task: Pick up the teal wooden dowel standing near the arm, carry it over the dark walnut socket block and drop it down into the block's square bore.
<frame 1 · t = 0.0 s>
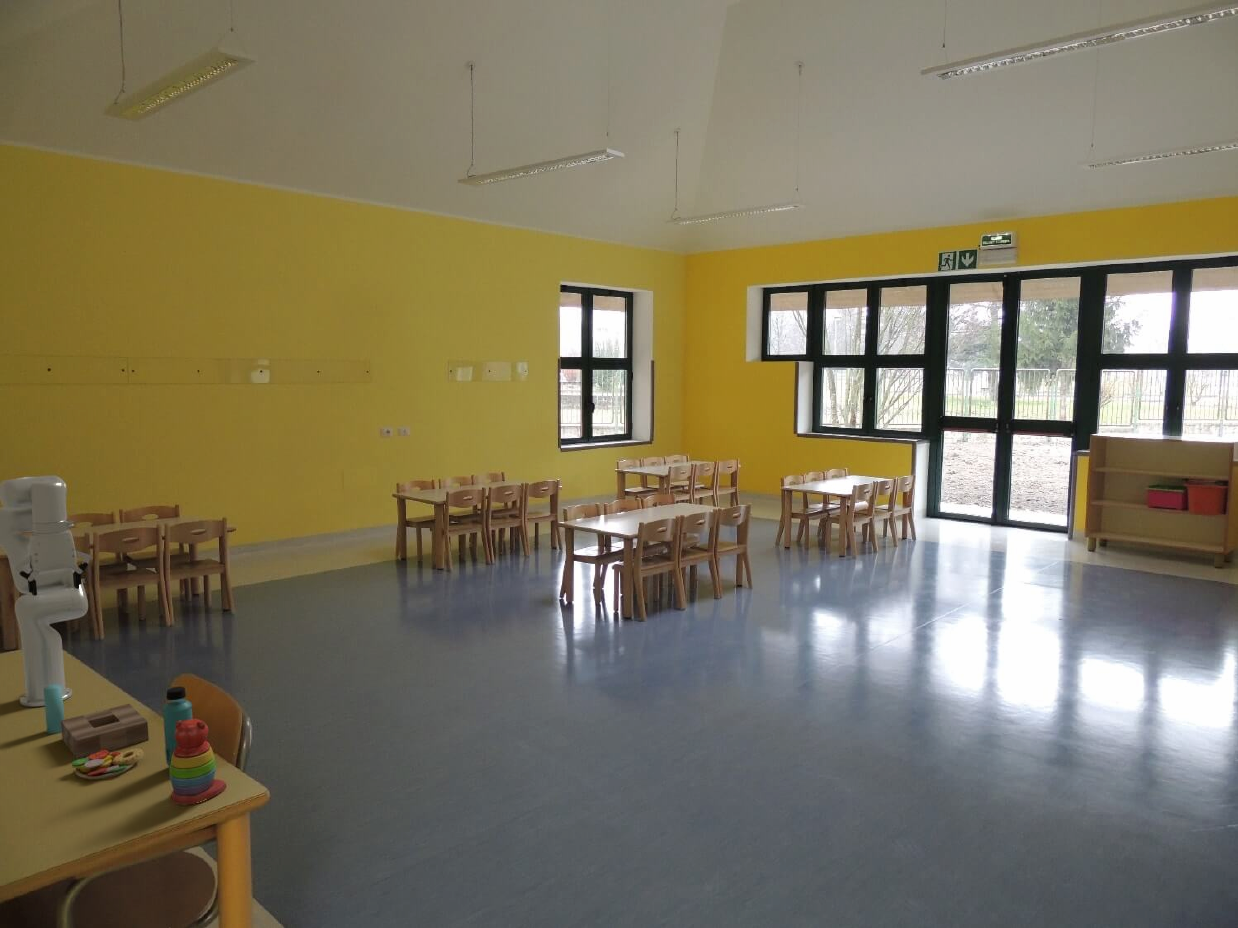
hand: (55, 591, 230), 37 cm above the table, tool pointing down, fingers open, 9 cm apart
beverage bottle: (181, 768, 210), on the table
toy food set: (107, 770, 210), on the table
socket block: (105, 739, 225), on the table
stacking bear: (195, 795, 197), on the table
peg: (56, 730, 231), on the table
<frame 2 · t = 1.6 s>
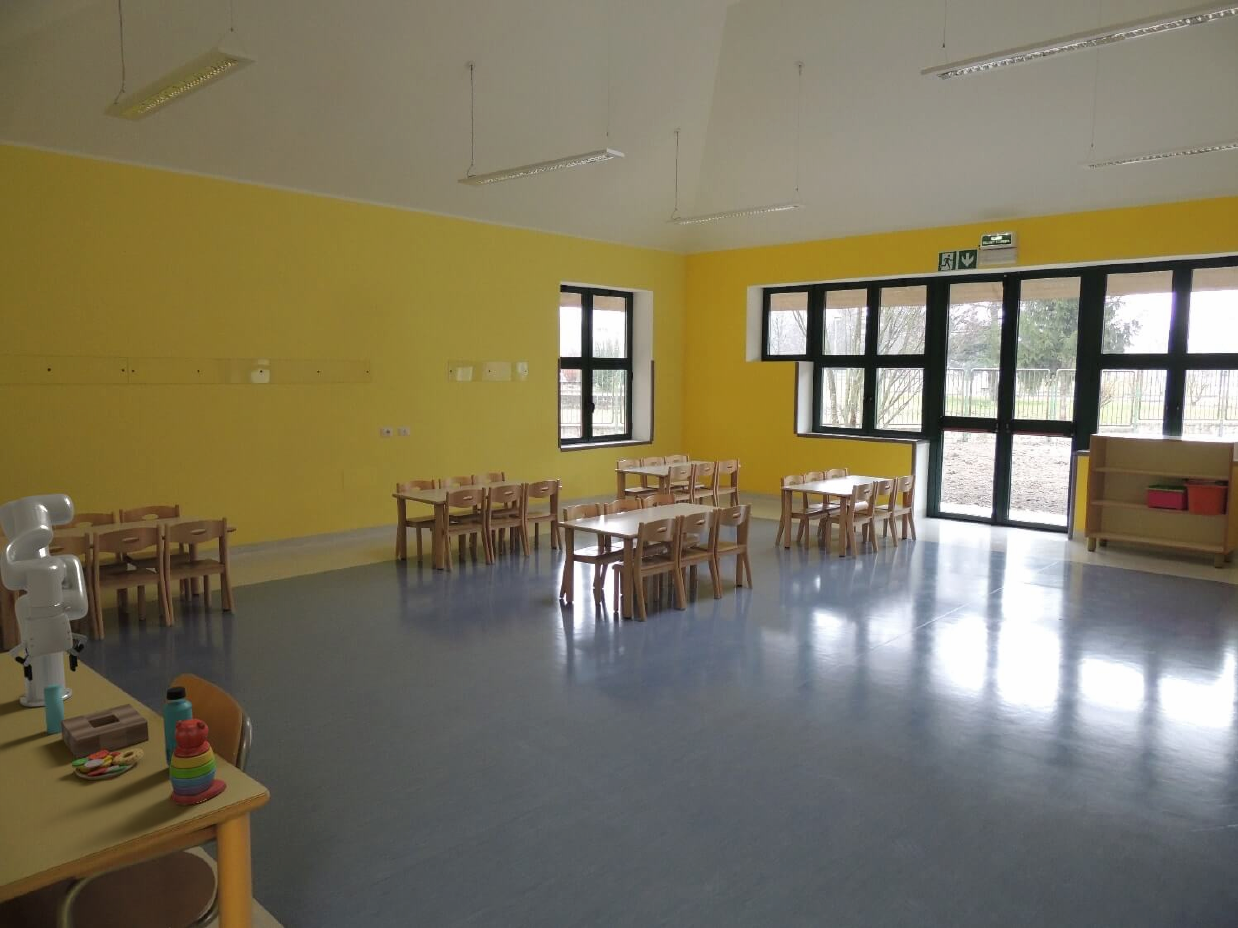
hand: (51, 674, 228), 16 cm above the table, tool pointing down, fingers open, 9 cm apart
nothing on the table moved.
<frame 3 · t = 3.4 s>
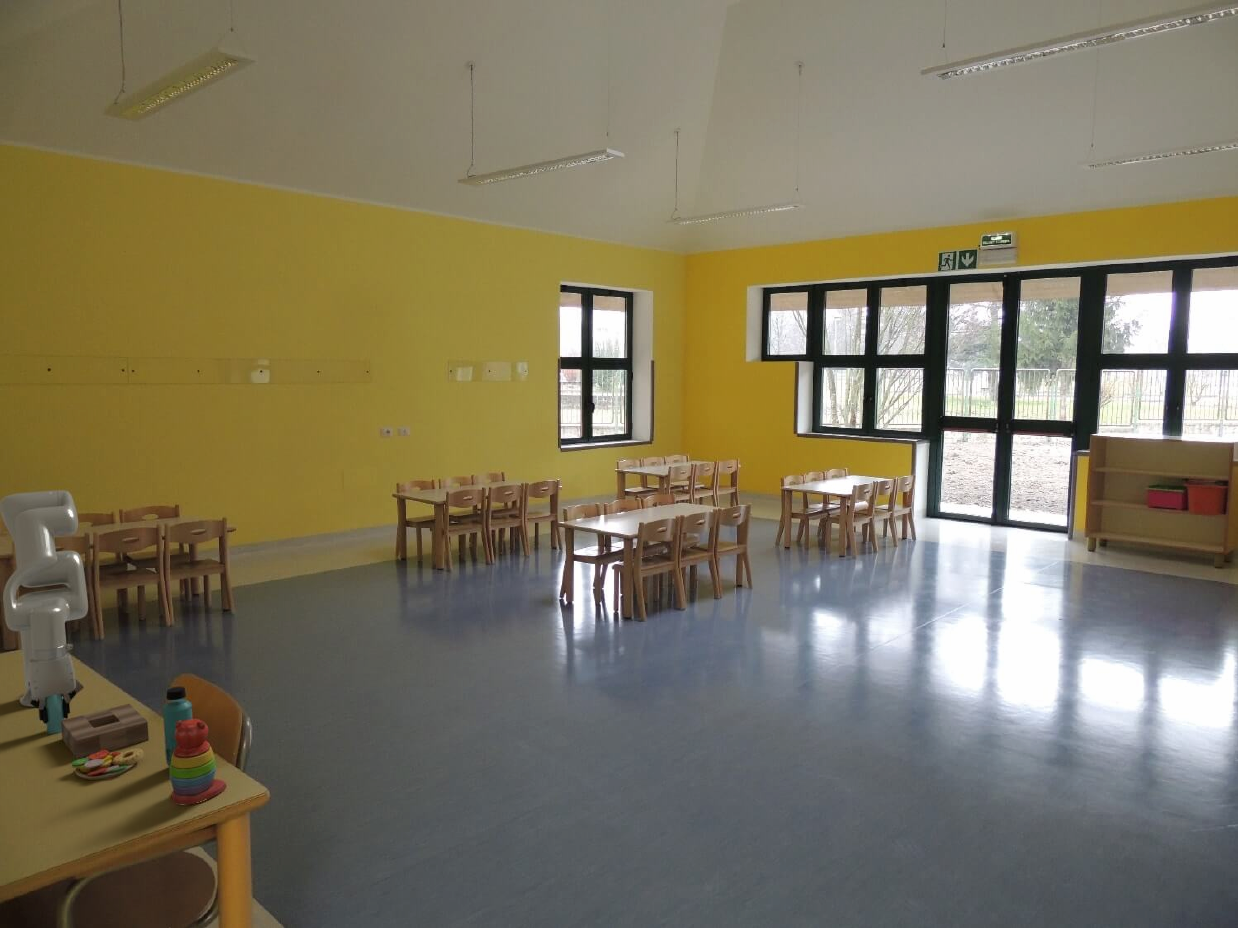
hand: (55, 718, 230), 3 cm above the table, tool pointing down, fingers closed on peg, 4 cm apart
peg: (56, 730, 231), on the table, touching gripper
everything else where it was.
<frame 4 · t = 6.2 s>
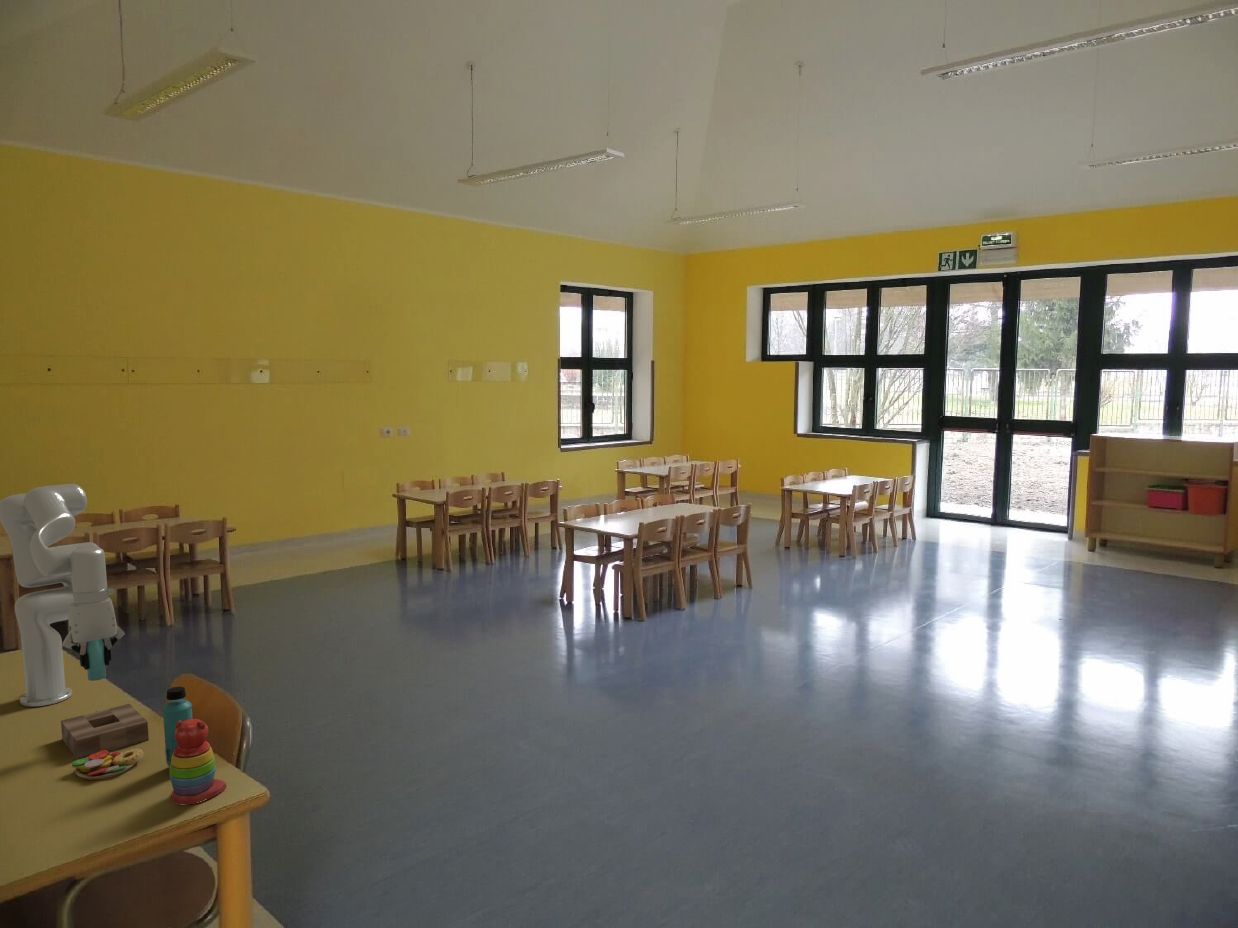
hand: (96, 665, 223), 20 cm above the table, tool pointing down, fingers closed on peg, 4 cm apart
peg: (97, 677, 223), point 17 cm above the table, touching gripper
everything else where it was.
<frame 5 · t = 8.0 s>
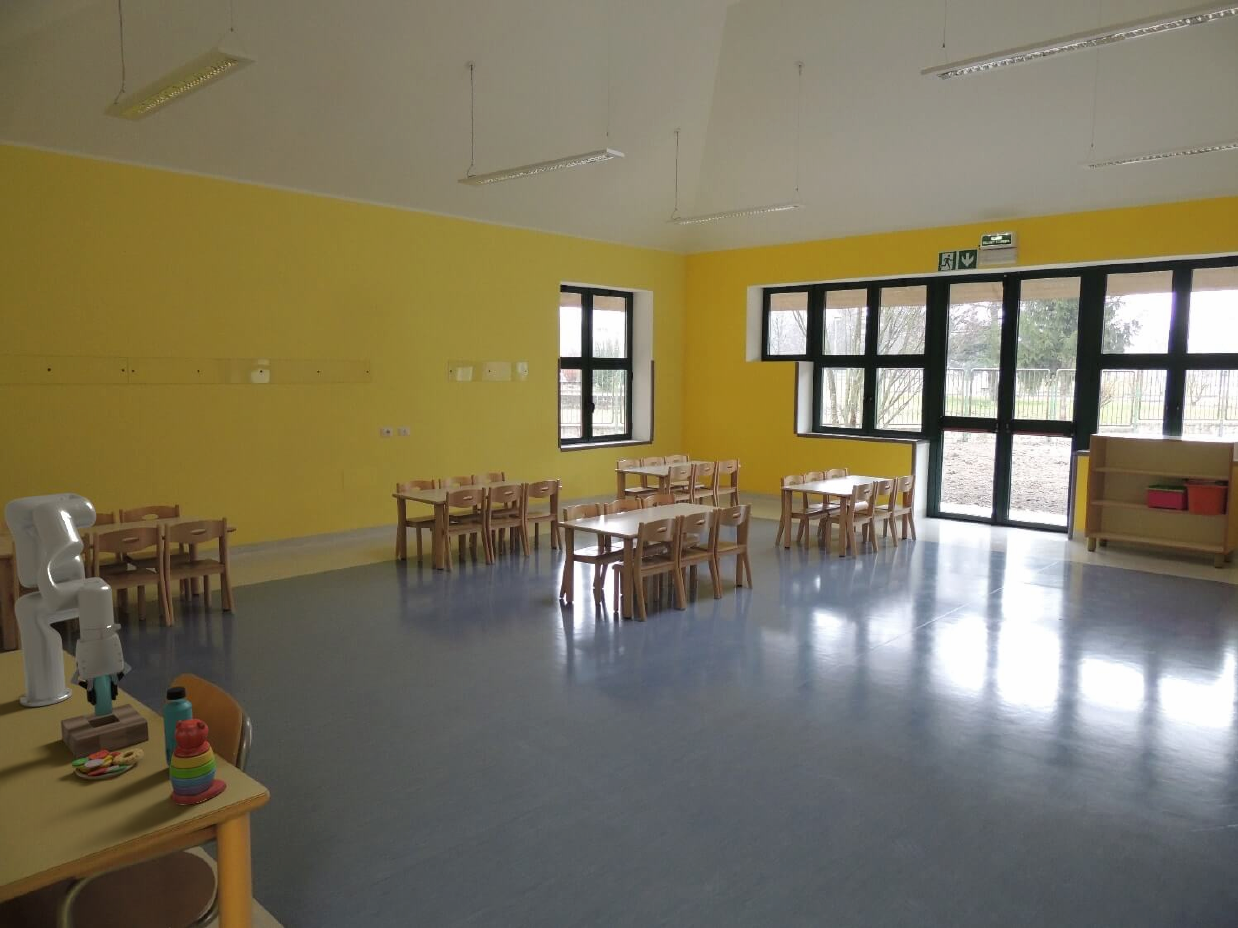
hand: (102, 700, 224), 11 cm above the table, tool pointing down, fingers closed on peg, 4 cm apart
peg: (104, 712, 224), point 7 cm above the table, touching gripper
everything else where it was.
when the fingers open (6 cm above the table, at t = 9.2 s): peg drops 3 cm, resting in socket block.
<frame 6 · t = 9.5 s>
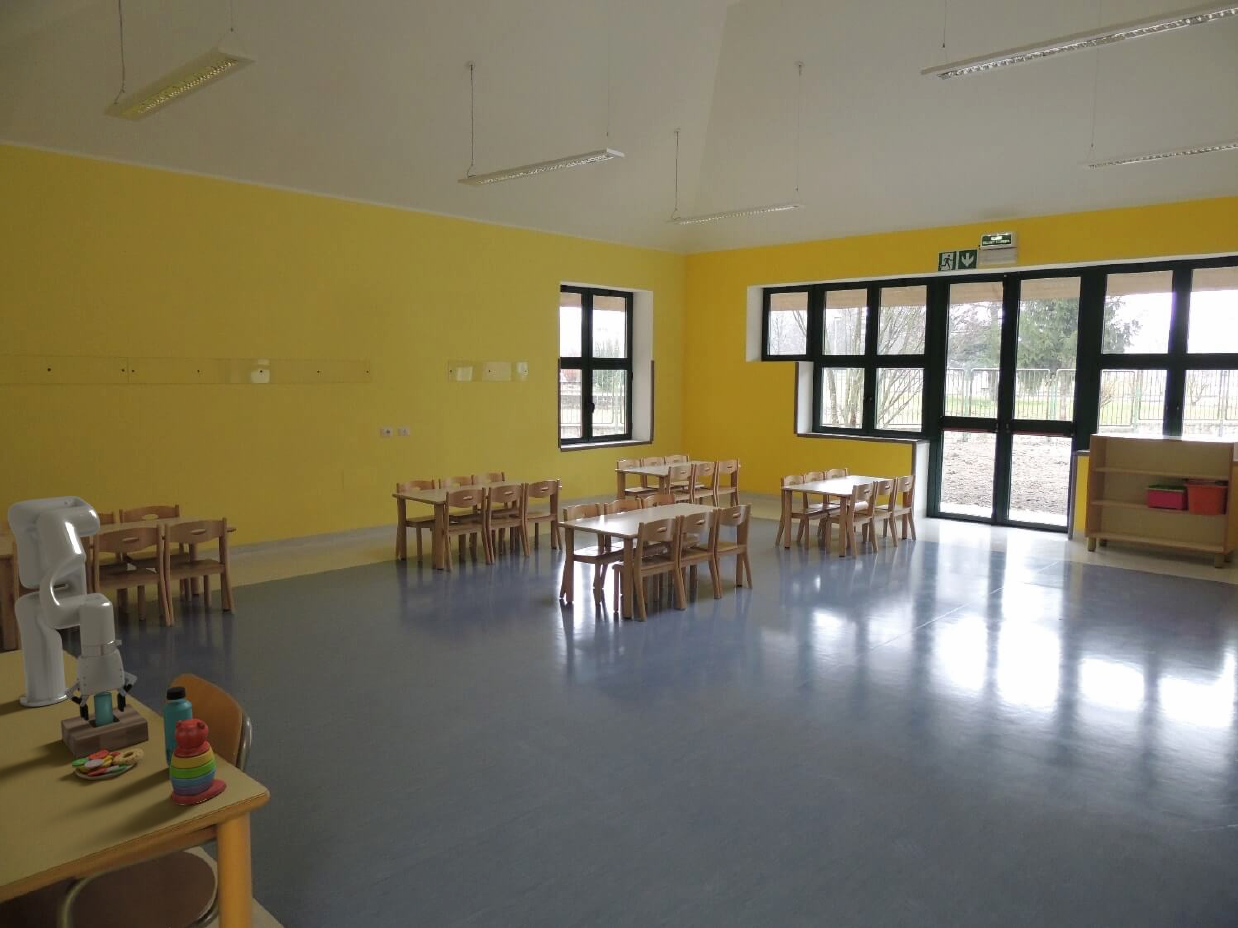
hand: (103, 714, 224), 7 cm above the table, tool pointing down, fingers open, 7 cm apart
peg: (105, 739, 225), resting in socket block
everything else where it was.
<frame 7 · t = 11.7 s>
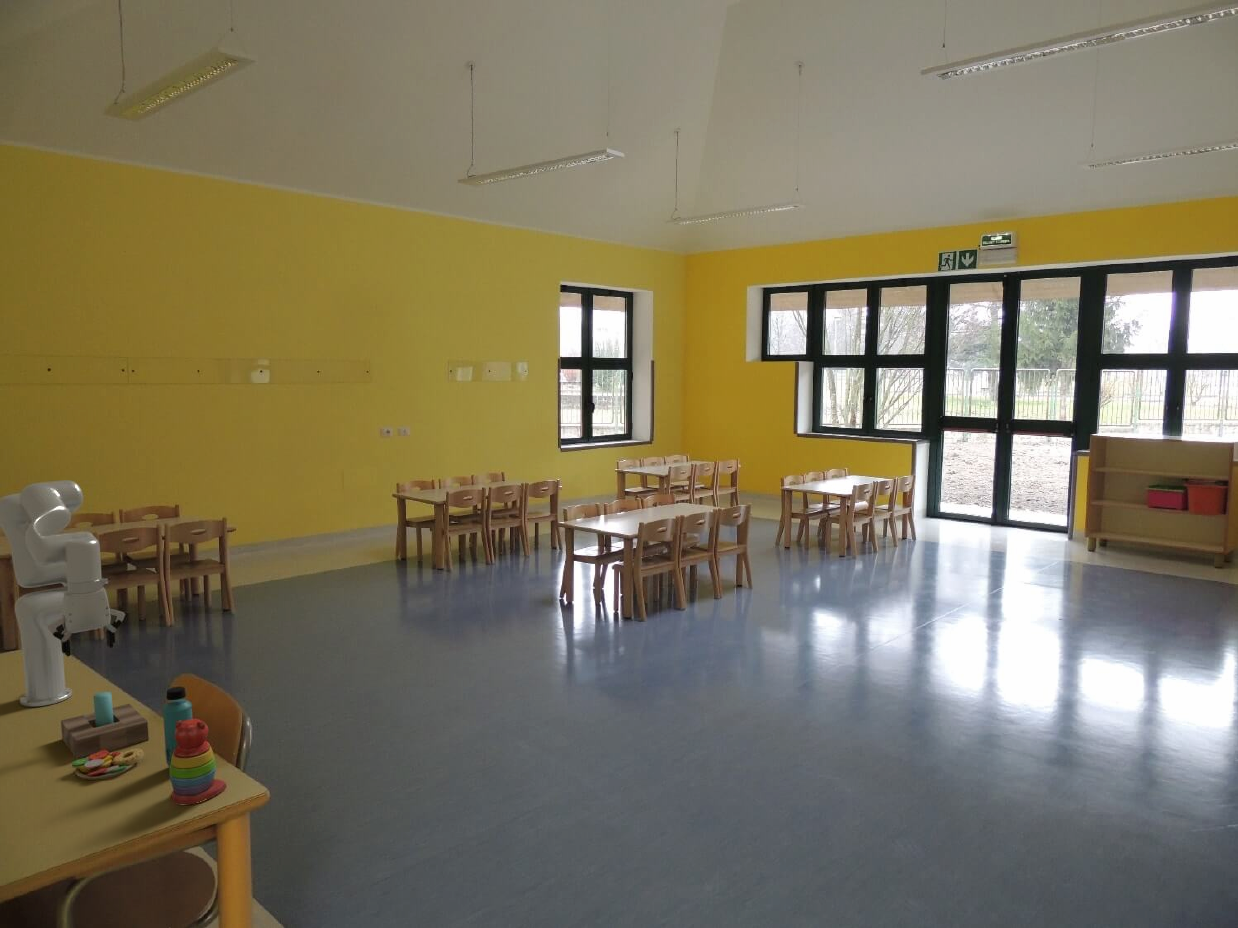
hand: (89, 650, 224), 23 cm above the table, tool pointing down, fingers open, 9 cm apart
nothing on the table moved.
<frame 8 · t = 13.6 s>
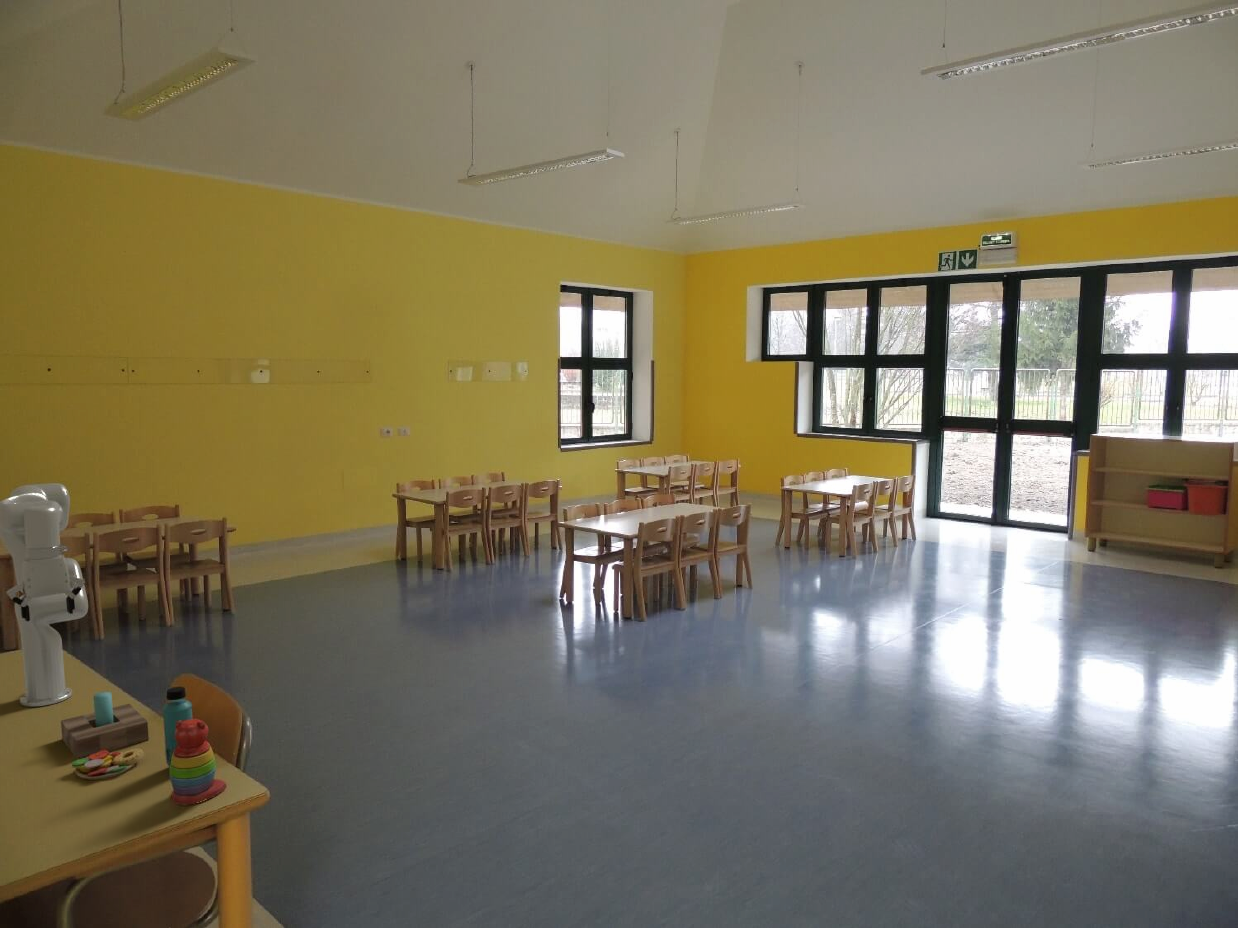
hand: (49, 616, 230), 30 cm above the table, tool pointing down, fingers open, 9 cm apart
nothing on the table moved.
at the end: peg 0.1 cm off-centre on the socket block, point 0.0 cm above the socket block's base; peg tilted 0°; the gripper is holding nothing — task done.
